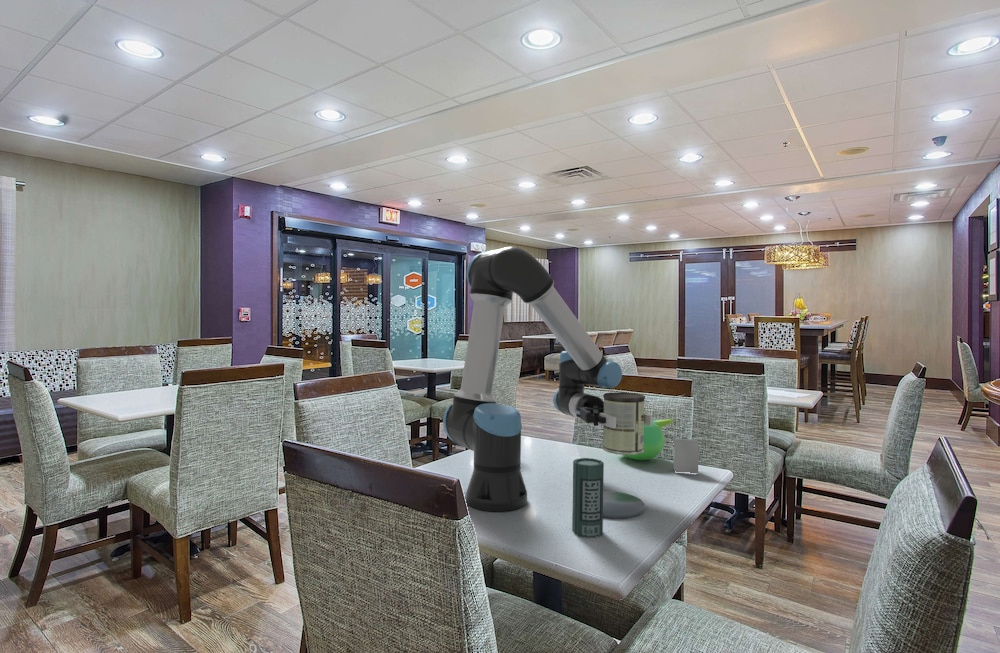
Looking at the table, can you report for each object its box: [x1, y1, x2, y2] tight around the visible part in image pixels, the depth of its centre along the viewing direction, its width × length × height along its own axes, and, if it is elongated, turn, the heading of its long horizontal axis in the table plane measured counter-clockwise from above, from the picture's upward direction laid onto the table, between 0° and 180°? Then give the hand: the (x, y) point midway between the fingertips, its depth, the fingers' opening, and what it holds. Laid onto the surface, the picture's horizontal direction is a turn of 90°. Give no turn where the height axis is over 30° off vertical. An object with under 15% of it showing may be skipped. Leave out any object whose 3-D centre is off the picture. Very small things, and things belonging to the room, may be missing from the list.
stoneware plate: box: [603, 490, 645, 520], centre depth 130 cm, size 16×16×1 cm
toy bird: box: [623, 418, 674, 461], centre depth 175 cm, size 18×17×15 cm
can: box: [571, 457, 605, 539], centre depth 114 cm, size 6×6×15 cm
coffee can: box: [602, 391, 646, 456], centre depth 136 cm, size 10×10×14 cm
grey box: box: [672, 438, 699, 474], centre depth 159 cm, size 4×7×10 cm, turn 75°
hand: (633, 421), depth 132 cm, fingers closed on coffee can, 10 cm apart
